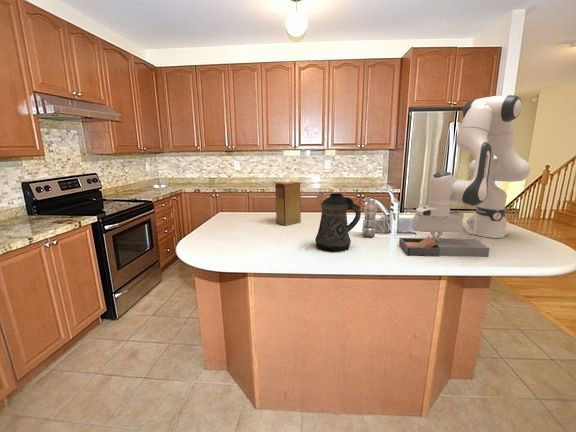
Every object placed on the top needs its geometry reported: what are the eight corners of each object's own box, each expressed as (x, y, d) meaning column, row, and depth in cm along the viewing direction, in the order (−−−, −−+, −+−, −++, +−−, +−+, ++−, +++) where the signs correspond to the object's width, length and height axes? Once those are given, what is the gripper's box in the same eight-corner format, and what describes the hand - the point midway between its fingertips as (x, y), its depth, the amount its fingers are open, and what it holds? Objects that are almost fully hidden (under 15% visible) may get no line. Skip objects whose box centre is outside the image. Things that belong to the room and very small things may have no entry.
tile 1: (416, 242, 135) (416, 246, 135) (403, 242, 136) (403, 246, 136) (421, 246, 129) (420, 251, 130) (407, 246, 130) (406, 251, 130)
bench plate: (428, 246, 138) (429, 238, 137) (474, 247, 135) (475, 239, 134) (438, 255, 126) (439, 246, 125) (488, 256, 124) (489, 247, 123)
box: (399, 244, 140) (399, 237, 139) (427, 245, 139) (428, 238, 138) (407, 255, 127) (407, 247, 126) (439, 256, 125) (439, 248, 124)
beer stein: (309, 243, 144) (309, 192, 138) (344, 238, 150) (345, 190, 145) (325, 254, 129) (326, 198, 123) (363, 248, 135) (365, 195, 130)
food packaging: (291, 219, 191) (291, 181, 185) (301, 222, 184) (301, 182, 178) (275, 223, 183) (274, 182, 177) (284, 226, 176) (284, 184, 170)
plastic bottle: (360, 236, 154) (361, 198, 149) (366, 233, 159) (368, 196, 154) (371, 239, 149) (373, 200, 145) (377, 236, 154) (380, 198, 149)
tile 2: (419, 247, 135) (417, 243, 135) (431, 239, 134) (428, 236, 133) (424, 251, 129) (421, 247, 129) (436, 244, 128) (433, 240, 128)
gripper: (460, 208, 129) (457, 238, 133) (412, 208, 131) (409, 238, 135) (467, 212, 123) (463, 243, 126) (416, 212, 125) (414, 242, 129)
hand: (435, 240), depth 131 cm, fingers closed
